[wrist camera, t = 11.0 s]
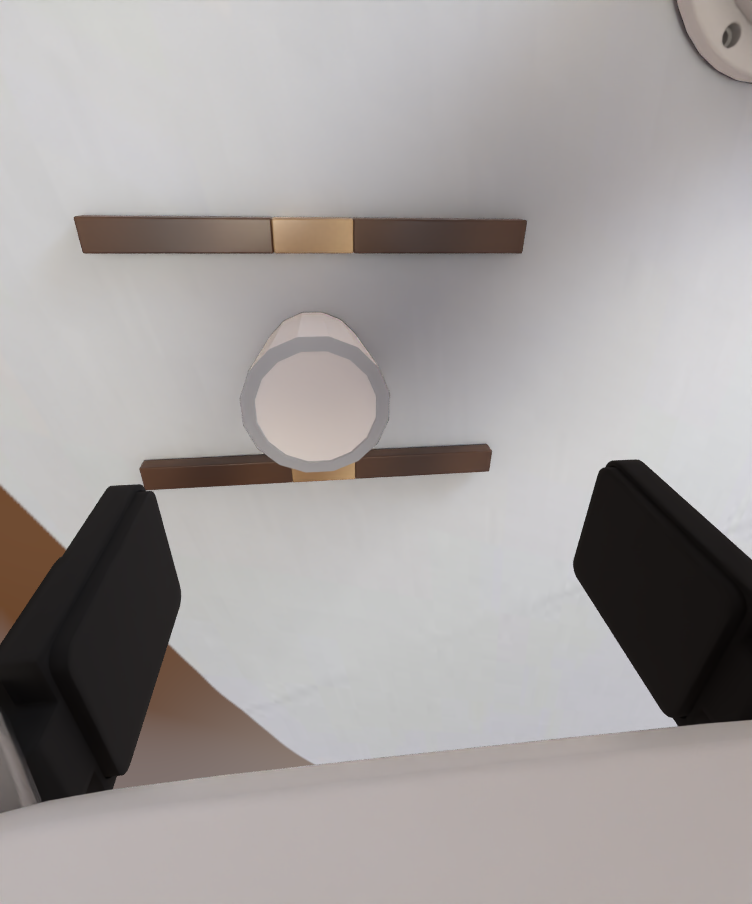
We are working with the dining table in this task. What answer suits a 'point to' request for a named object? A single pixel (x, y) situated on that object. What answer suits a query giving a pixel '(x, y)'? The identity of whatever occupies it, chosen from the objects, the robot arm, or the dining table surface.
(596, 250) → the dining table surface
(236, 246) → the guide rails
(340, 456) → the white cup
